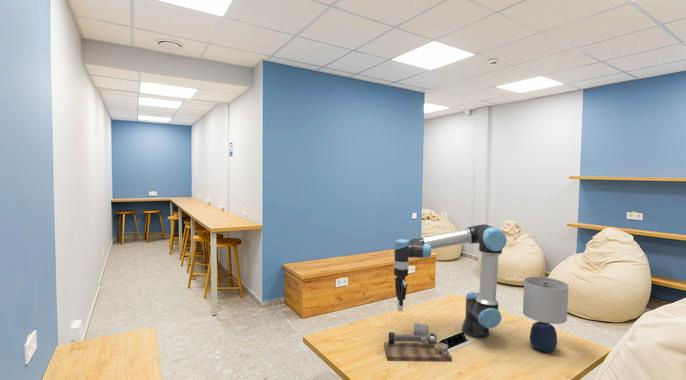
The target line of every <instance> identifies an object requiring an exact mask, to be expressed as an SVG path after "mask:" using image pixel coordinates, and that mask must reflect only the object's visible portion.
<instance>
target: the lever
mask: <svg viewBox="0 0 686 380" xmlns="http://www.w3.org/2000/svg"><path fill="white" fill-rule="evenodd" d="M387 342H388V343H389V344H394V343H395V342H414V343H432V344H435V343H438V335H437V334H436V333H434V332H430V333H428V335H414V334H396V333H395V332H394V331H390V332H388V339H387Z"/></svg>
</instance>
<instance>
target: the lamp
mask: <svg viewBox="0 0 686 380" xmlns="http://www.w3.org/2000/svg"><path fill="white" fill-rule="evenodd" d="M568 301H569V284H568V283H566V282H565V281H563V280H559V279H556V278H550V277H544V276H543V277H541V276H527V277H525V278H524V279H523V303H522V313H523V315H524V316H526V317H527V318H529V319H531V320H533V321H535V322H533V323H532V325H531V328H530V331H529V332H530V333H529V341H530V344H531V346H532V347H533V348H534V349H536V350H537V351H539V352H541V353H542V352H543V353H552V352H554V351H555V350H556V349H557V346H558V336H557V335H558V334H557V333H558V332H557V330H556V328H555V326H553V325H558V324H559V325H560V324H565V323H566V322H567V321H568V307H569V306H568V304H569V303H568Z"/></svg>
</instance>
